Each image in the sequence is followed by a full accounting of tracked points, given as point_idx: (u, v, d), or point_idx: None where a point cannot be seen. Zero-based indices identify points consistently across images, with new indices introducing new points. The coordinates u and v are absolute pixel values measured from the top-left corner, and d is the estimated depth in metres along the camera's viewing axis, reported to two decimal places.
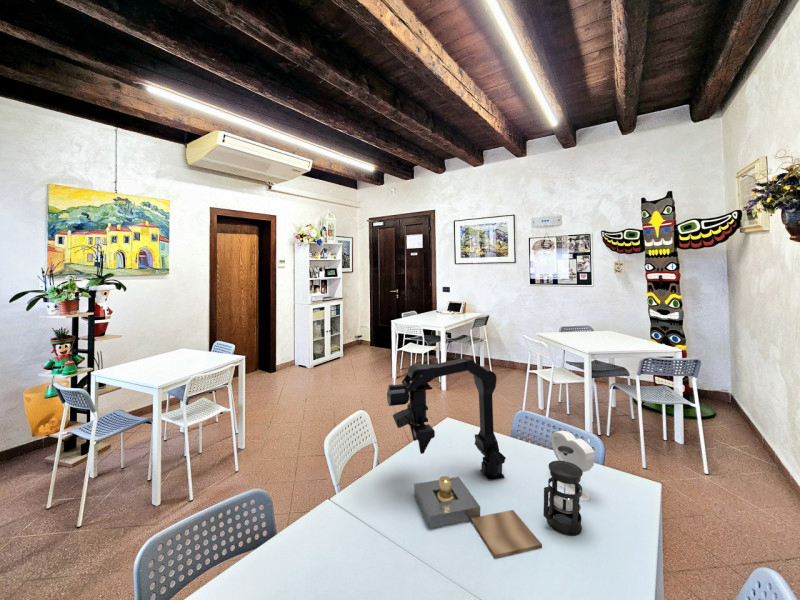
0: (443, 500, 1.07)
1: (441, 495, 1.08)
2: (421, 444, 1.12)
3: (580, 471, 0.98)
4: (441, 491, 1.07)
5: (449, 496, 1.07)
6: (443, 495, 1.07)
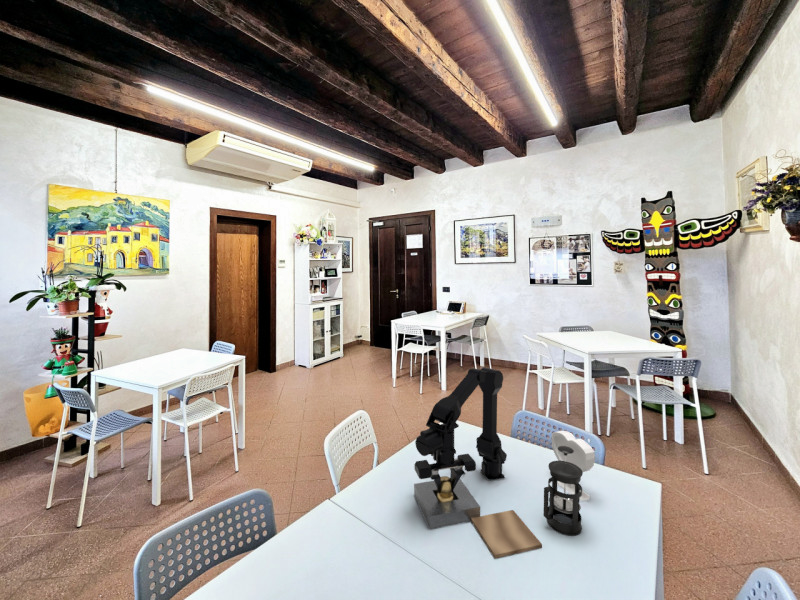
0: (443, 500, 1.07)
1: (441, 495, 1.08)
2: (434, 480, 1.08)
3: (580, 471, 0.98)
4: (441, 491, 1.07)
5: (449, 496, 1.07)
6: (443, 495, 1.07)
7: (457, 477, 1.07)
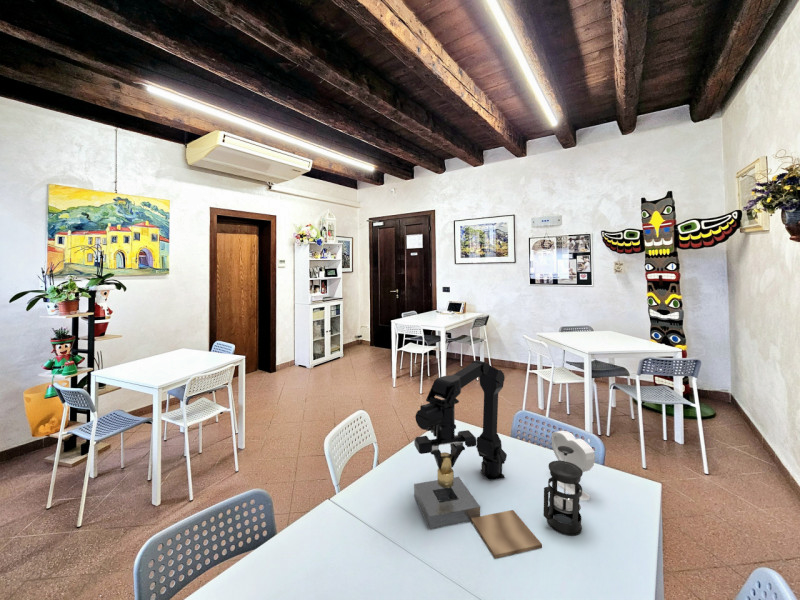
0: (443, 476, 1.06)
1: (441, 471, 1.07)
2: (434, 456, 1.08)
3: (580, 471, 0.98)
4: (441, 467, 1.07)
5: (449, 472, 1.07)
6: (443, 471, 1.06)
7: (457, 452, 1.06)
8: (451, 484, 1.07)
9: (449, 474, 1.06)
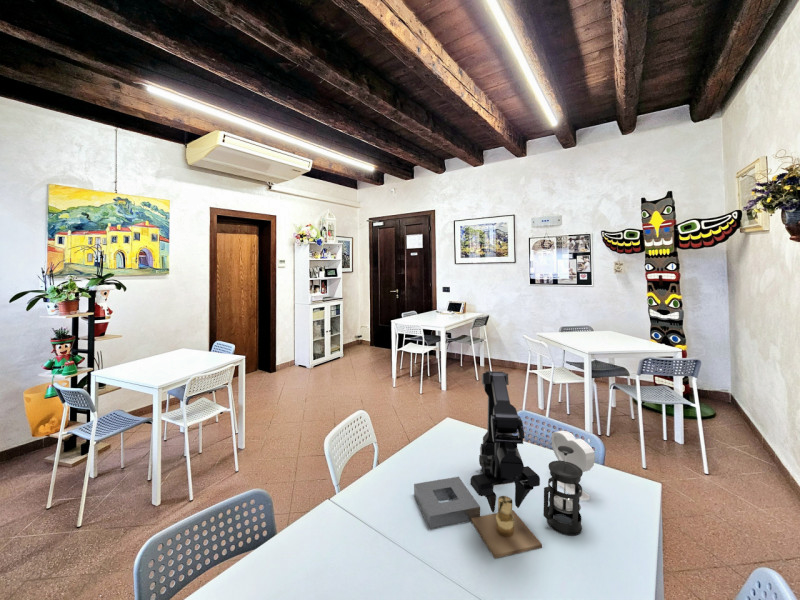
0: (504, 523, 0.95)
1: (501, 517, 0.96)
2: (487, 498, 0.96)
3: (580, 471, 0.98)
4: (501, 513, 0.96)
5: (510, 519, 0.96)
6: (504, 518, 0.95)
7: (525, 492, 0.95)
8: (512, 532, 0.96)
9: (510, 521, 0.95)
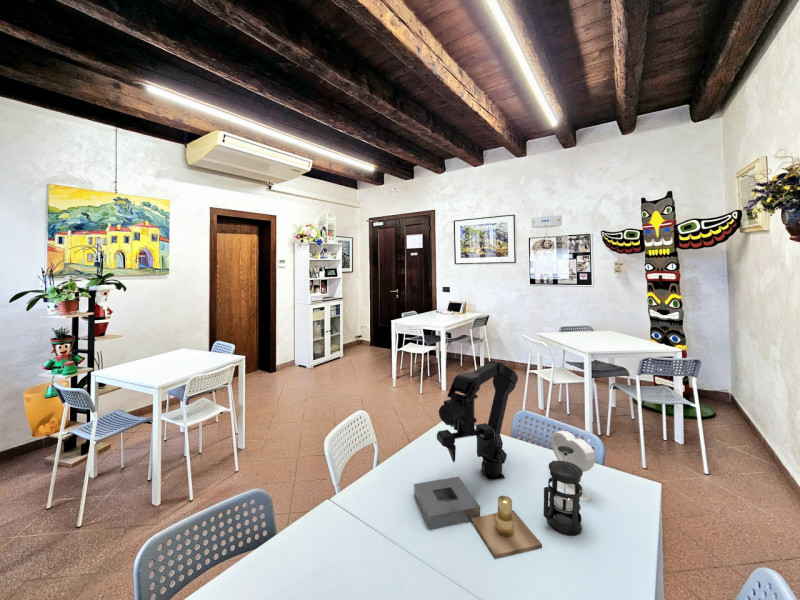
0: (504, 523, 0.95)
1: (501, 517, 0.96)
2: (449, 450, 1.13)
3: (580, 471, 0.98)
4: (501, 513, 0.96)
5: (510, 519, 0.96)
6: (503, 518, 0.95)
7: (484, 443, 1.13)
8: (512, 532, 0.96)
9: (510, 521, 0.95)
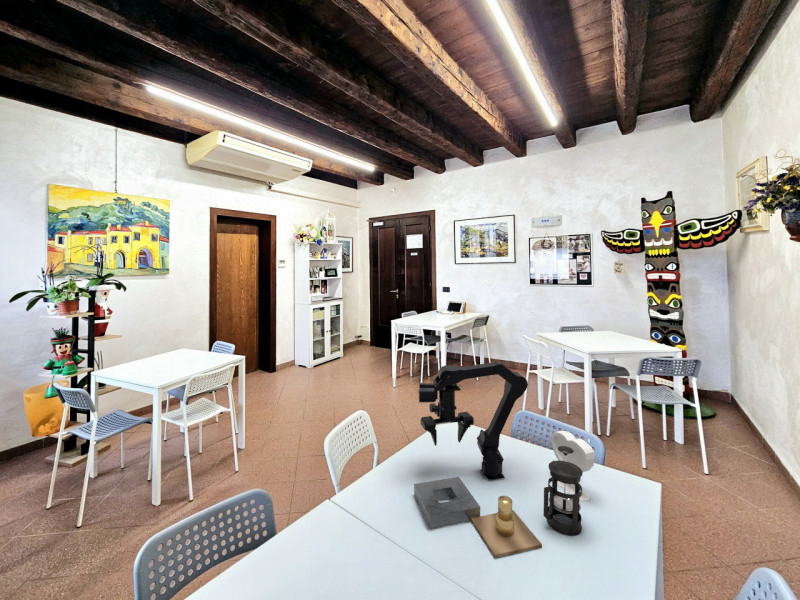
0: (504, 523, 0.95)
1: (501, 517, 0.96)
2: (431, 434, 1.24)
3: (580, 471, 0.98)
4: (501, 513, 0.96)
5: (510, 519, 0.96)
6: (504, 518, 0.95)
7: (464, 429, 1.24)
8: (512, 532, 0.96)
9: (510, 521, 0.95)
